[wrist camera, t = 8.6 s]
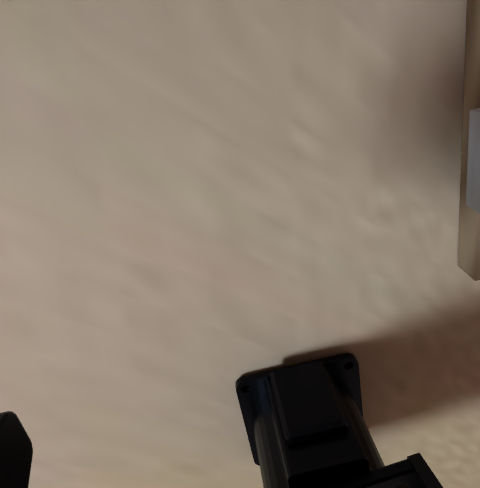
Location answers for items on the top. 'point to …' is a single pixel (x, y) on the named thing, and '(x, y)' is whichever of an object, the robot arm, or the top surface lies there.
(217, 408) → the top surface
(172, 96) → the top surface
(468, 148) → the beam
